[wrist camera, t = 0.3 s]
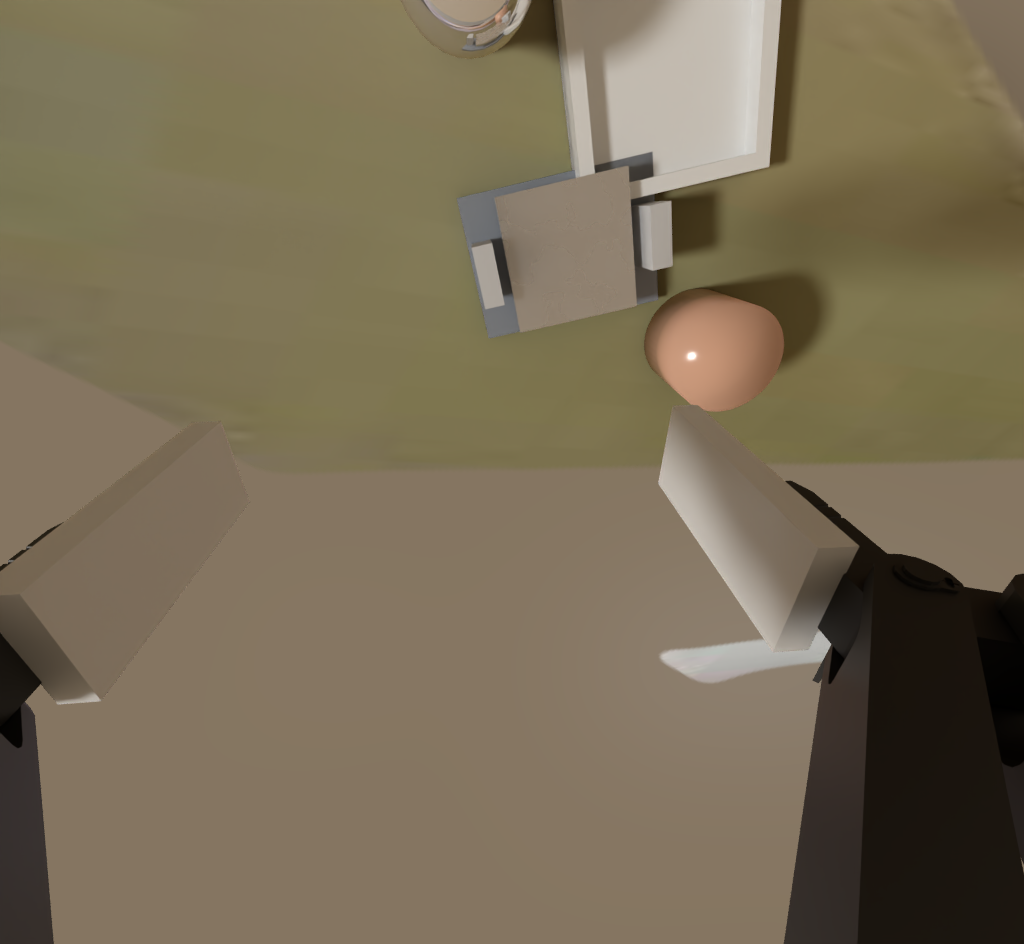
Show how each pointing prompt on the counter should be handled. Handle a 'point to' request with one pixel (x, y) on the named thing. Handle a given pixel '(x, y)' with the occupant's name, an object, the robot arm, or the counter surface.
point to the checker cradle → (490, 258)
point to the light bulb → (467, 24)
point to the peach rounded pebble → (714, 348)
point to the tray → (669, 86)
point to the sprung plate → (569, 248)
